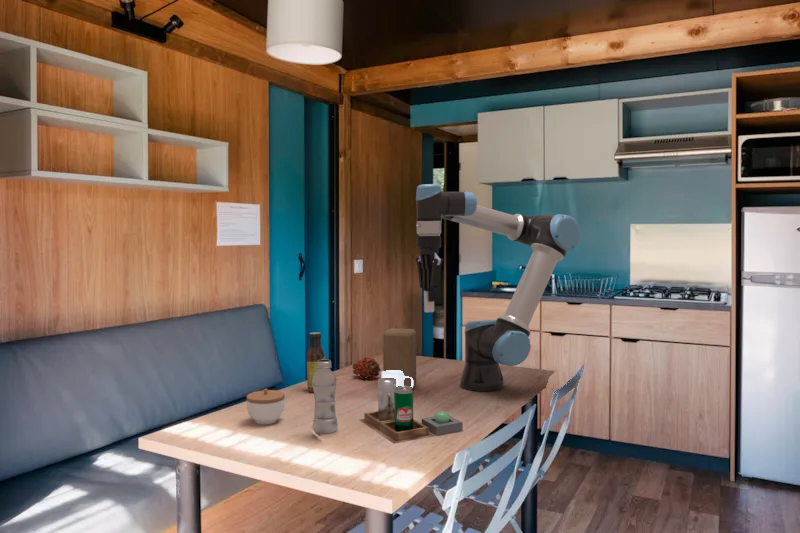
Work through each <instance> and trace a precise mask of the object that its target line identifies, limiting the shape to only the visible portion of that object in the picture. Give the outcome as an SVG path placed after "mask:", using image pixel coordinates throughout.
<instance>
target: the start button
mask: <svg viewBox="0 0 800 533" xmlns="http://www.w3.org/2000/svg"><path fill="white" fill-rule="evenodd" d="M434 416H435V422H436V423H438V424H442V423H448V422H449V416H450V412H448V411H444V410H438V411H435V412H434Z"/></svg>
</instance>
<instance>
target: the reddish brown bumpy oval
mask: <svg viewBox="0 0 800 533" xmlns="http://www.w3.org/2000/svg"><path fill="white" fill-rule="evenodd" d="M381 370H382V369H381V367H380V364H379V362H378V361H376V360H375V359H374V358H373V357H371V356H369V357H366V356H363V357H362V359H360V360H358V361H357V362H356V363H353V365H352V373H353V375H356V376H359V378H360V379H361V380H364V379H366V380H367V379H368V380H372V379H373V378H374V377H378V376H379V375H380V371H381Z"/></svg>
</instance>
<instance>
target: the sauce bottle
mask: <svg viewBox="0 0 800 533" xmlns="http://www.w3.org/2000/svg"><path fill="white" fill-rule="evenodd" d="M308 338H309V348H308V350H307V352H306V381H307V382H306V383H307V385H306V386H307V391H308V392H310V393H314V390H313V384H312V379H313V376H314V375H315V373H316V372H317V370H318V368H317V361H318V360H323V359H326V355H325V352H324V349H323V347H322V340H321V339H322V333H321V332H319V331H318V332H316V331H315V332H314V331H313V332H309V334H308Z"/></svg>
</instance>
